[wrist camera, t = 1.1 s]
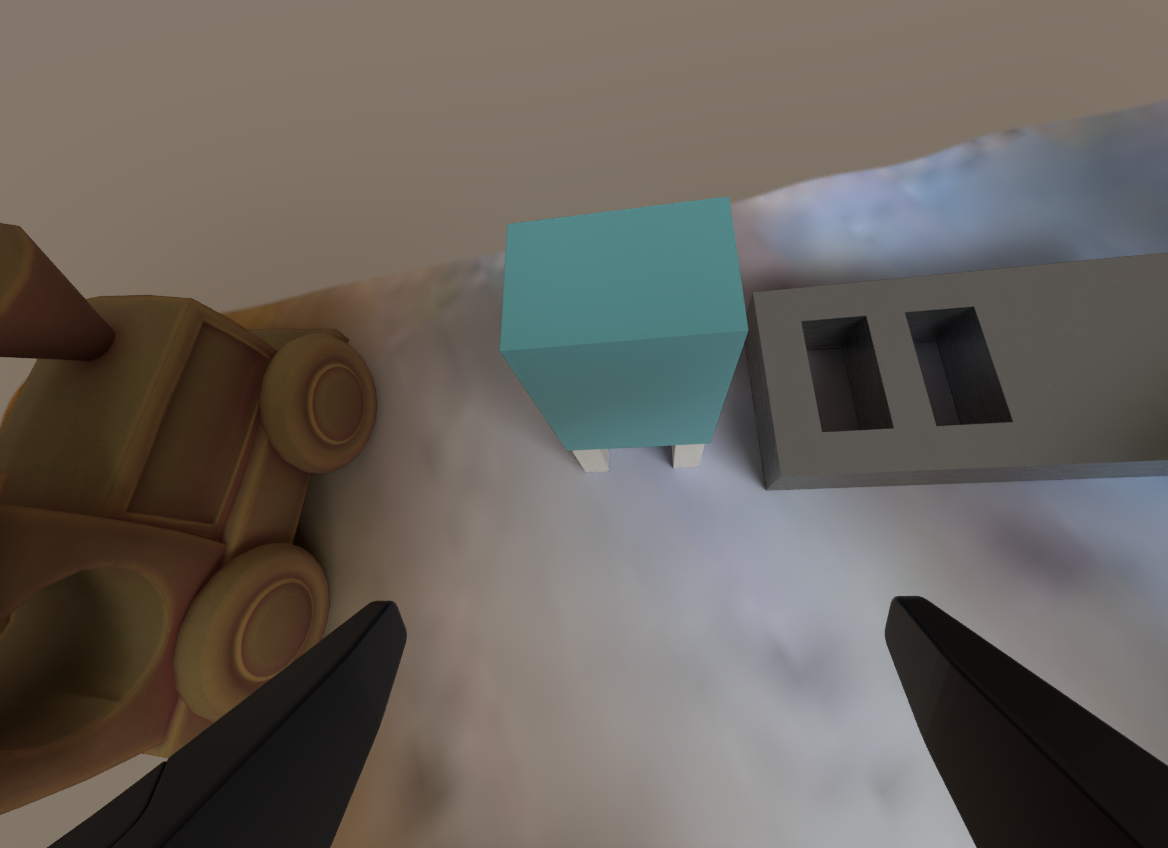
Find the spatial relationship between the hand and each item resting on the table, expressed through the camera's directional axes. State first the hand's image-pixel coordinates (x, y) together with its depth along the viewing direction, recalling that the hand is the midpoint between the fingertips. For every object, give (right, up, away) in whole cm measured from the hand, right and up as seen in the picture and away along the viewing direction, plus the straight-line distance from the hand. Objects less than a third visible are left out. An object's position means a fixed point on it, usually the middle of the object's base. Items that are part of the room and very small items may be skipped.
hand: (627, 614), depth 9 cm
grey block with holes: (+16, +5, +14) cm, 22 cm away
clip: (+2, +3, +16) cm, 16 cm away
